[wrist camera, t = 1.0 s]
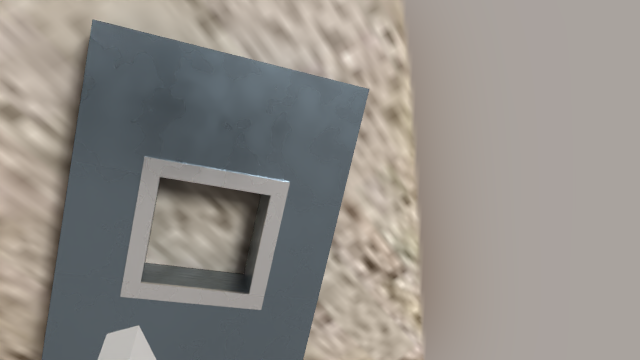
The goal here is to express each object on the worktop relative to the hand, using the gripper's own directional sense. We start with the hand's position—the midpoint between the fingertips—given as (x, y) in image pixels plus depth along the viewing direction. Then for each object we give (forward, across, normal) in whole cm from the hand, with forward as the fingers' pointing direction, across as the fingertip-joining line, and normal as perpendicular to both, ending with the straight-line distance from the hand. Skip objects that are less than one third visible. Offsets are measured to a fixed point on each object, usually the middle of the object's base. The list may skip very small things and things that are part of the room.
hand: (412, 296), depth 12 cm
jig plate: (+20, -9, -7) cm, 22 cm away
